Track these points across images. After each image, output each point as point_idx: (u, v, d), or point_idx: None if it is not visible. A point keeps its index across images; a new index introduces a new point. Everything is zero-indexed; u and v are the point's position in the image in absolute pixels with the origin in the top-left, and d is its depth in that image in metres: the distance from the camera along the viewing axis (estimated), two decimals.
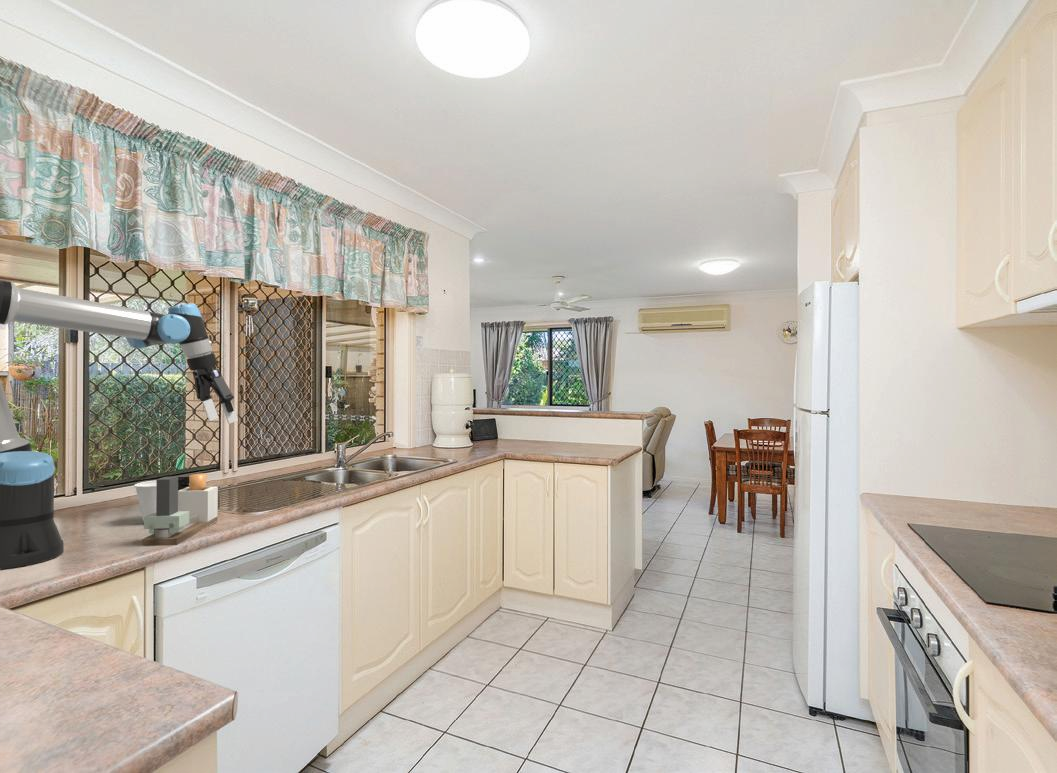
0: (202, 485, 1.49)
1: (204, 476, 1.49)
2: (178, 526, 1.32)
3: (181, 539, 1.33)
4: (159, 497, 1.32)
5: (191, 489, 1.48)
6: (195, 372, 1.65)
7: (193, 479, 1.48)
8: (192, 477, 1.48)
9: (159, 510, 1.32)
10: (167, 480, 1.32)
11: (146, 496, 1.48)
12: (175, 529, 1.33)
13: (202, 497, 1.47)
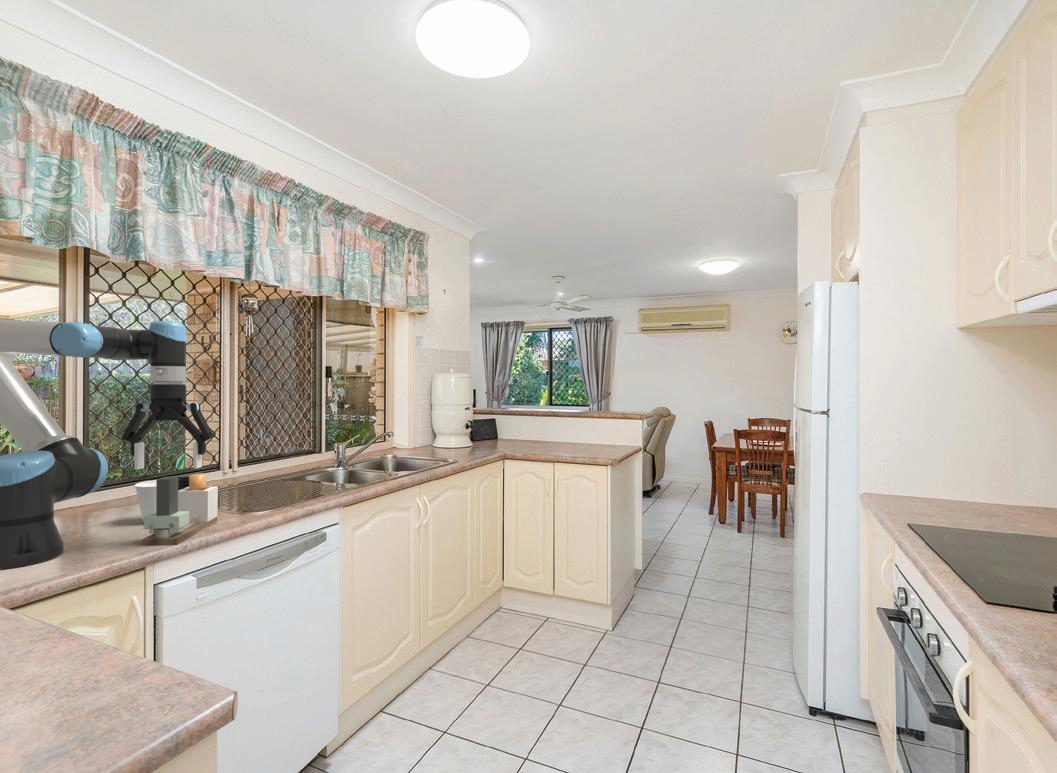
0: (202, 485, 1.49)
1: (204, 476, 1.49)
2: (178, 526, 1.32)
3: (181, 539, 1.33)
4: (159, 497, 1.32)
5: (191, 489, 1.48)
6: None
7: (193, 479, 1.48)
8: (192, 477, 1.48)
9: (159, 510, 1.32)
10: (167, 480, 1.32)
11: (146, 496, 1.48)
12: (175, 529, 1.33)
13: (202, 497, 1.47)
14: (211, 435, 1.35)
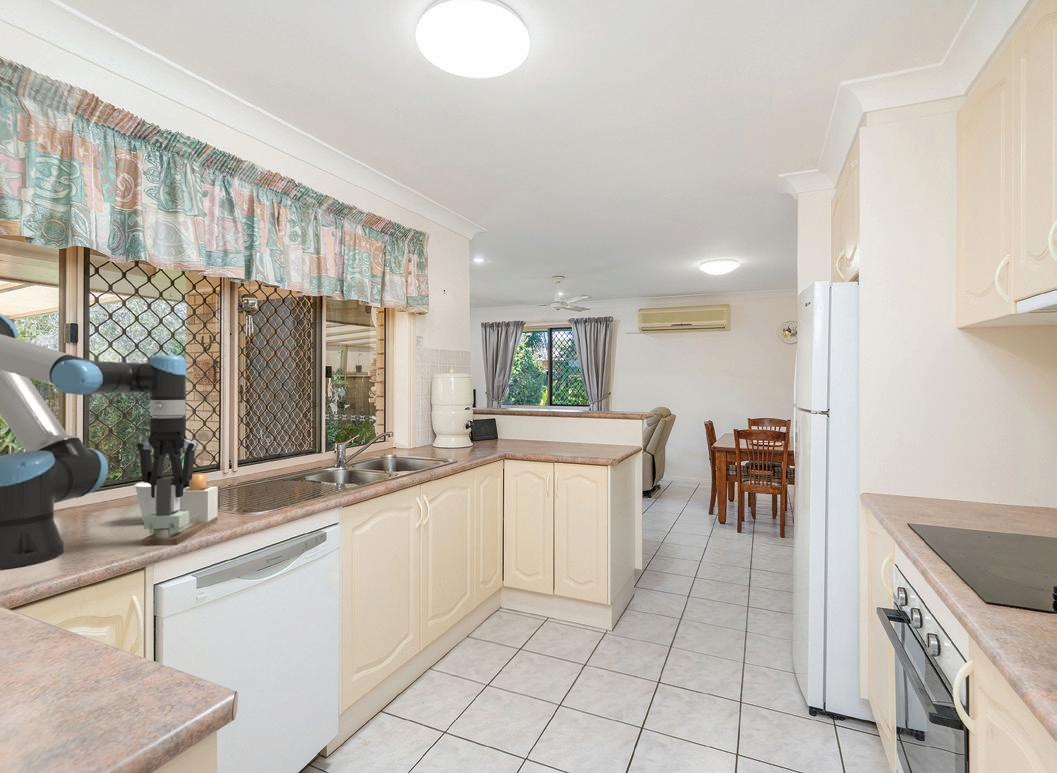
0: (202, 485, 1.49)
1: (204, 476, 1.49)
2: (178, 526, 1.32)
3: (181, 539, 1.33)
4: (159, 497, 1.32)
5: (191, 489, 1.48)
6: None
7: (193, 479, 1.48)
8: (192, 477, 1.48)
9: (159, 510, 1.32)
10: (167, 480, 1.32)
11: (146, 496, 1.48)
12: (175, 529, 1.33)
13: (202, 497, 1.47)
14: (189, 477, 1.35)
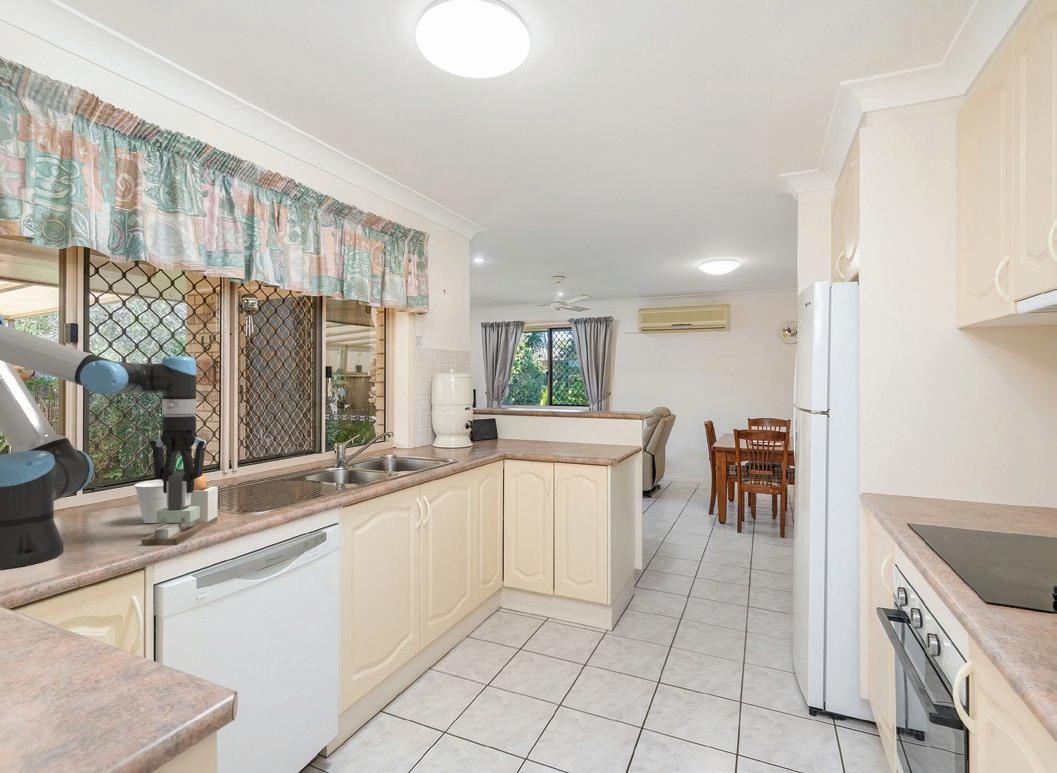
0: (202, 485, 1.49)
1: (204, 476, 1.49)
2: (189, 520, 1.38)
3: (181, 539, 1.33)
4: (171, 492, 1.37)
5: None
6: None
7: None
8: None
9: (171, 505, 1.37)
10: (179, 476, 1.38)
11: (146, 496, 1.48)
12: (186, 523, 1.38)
13: (202, 497, 1.47)
14: (200, 474, 1.40)
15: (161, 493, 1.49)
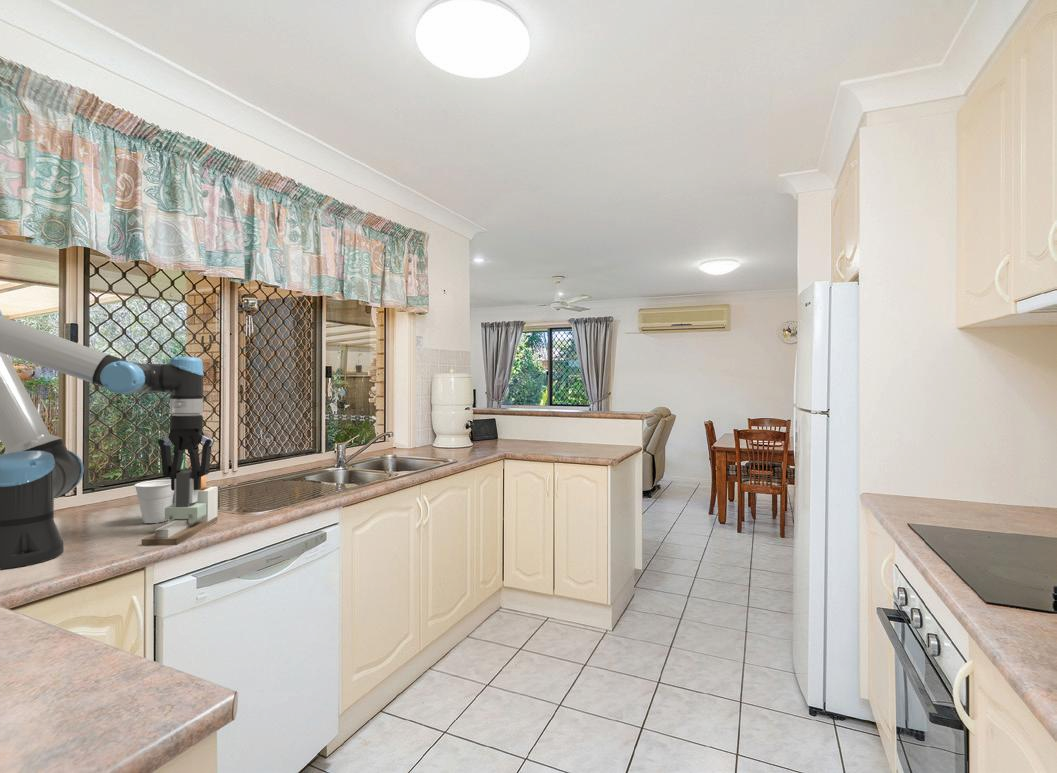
0: (202, 485, 1.49)
1: (204, 476, 1.49)
2: (196, 517, 1.41)
3: (181, 539, 1.33)
4: (179, 490, 1.41)
5: None
6: (210, 439, 1.45)
7: None
8: None
9: (179, 502, 1.41)
10: (186, 474, 1.41)
11: (146, 496, 1.48)
12: (193, 520, 1.42)
13: (202, 497, 1.47)
14: (206, 471, 1.44)
15: (161, 493, 1.49)
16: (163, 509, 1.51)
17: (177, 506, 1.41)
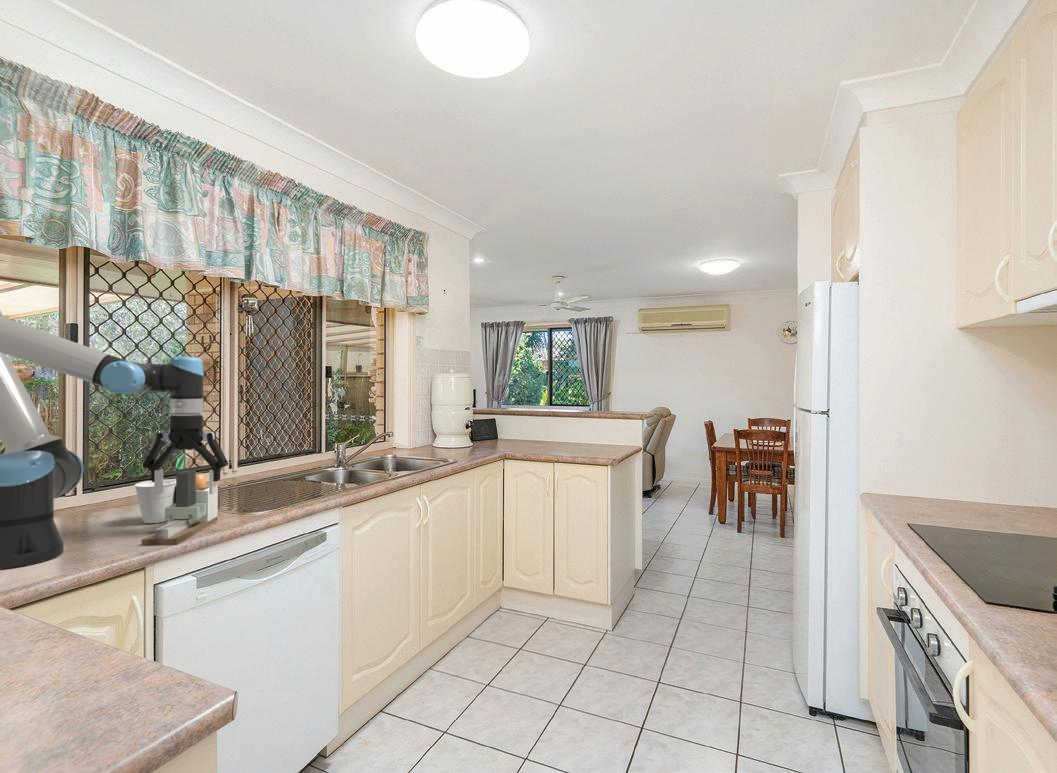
0: (202, 485, 1.49)
1: (204, 476, 1.49)
2: (196, 517, 1.41)
3: (181, 539, 1.33)
4: (179, 490, 1.41)
5: None
6: None
7: None
8: None
9: (179, 502, 1.41)
10: (186, 474, 1.41)
11: (146, 496, 1.48)
12: (193, 520, 1.42)
13: (202, 497, 1.47)
14: (226, 463, 1.45)
15: None
16: (163, 509, 1.51)
17: (177, 506, 1.41)
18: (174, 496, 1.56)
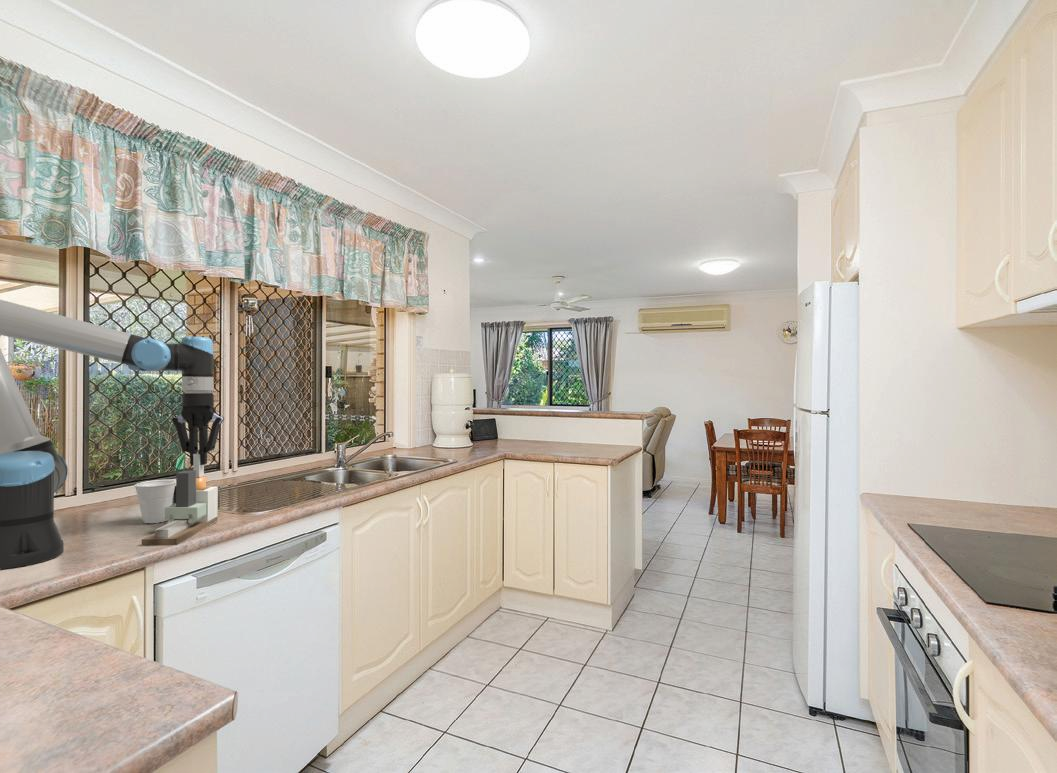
0: (202, 488, 1.49)
1: (204, 479, 1.49)
2: (196, 517, 1.41)
3: (181, 539, 1.33)
4: (179, 490, 1.41)
5: None
6: (220, 417, 1.51)
7: None
8: None
9: (179, 502, 1.41)
10: (186, 474, 1.41)
11: (146, 496, 1.48)
12: (193, 520, 1.42)
13: (202, 497, 1.47)
14: (212, 447, 1.50)
15: (161, 493, 1.50)
16: (163, 509, 1.51)
17: (177, 506, 1.41)
18: (174, 496, 1.56)
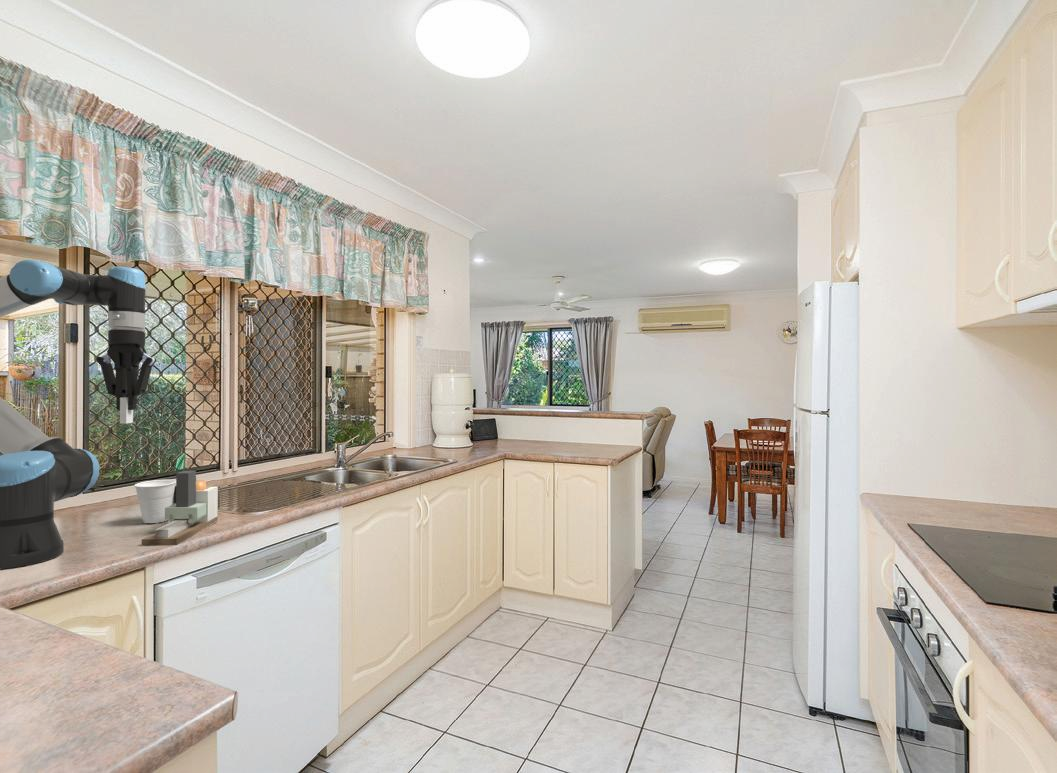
0: None
1: (204, 483, 1.49)
2: (196, 517, 1.41)
3: (181, 539, 1.33)
4: (179, 490, 1.41)
5: None
6: None
7: None
8: None
9: (179, 502, 1.41)
10: (186, 474, 1.41)
11: (146, 496, 1.48)
12: (193, 520, 1.42)
13: (202, 497, 1.47)
14: (142, 391, 1.36)
15: (161, 493, 1.49)
16: (163, 509, 1.51)
17: (177, 506, 1.41)
18: (174, 496, 1.56)
